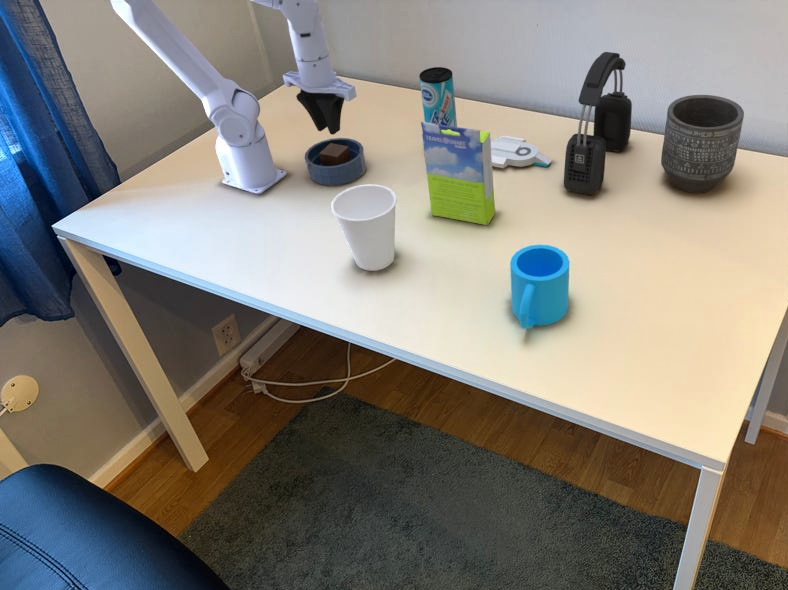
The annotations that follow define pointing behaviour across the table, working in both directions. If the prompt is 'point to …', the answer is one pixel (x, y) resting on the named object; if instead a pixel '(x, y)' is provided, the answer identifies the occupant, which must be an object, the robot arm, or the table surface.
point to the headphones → (598, 127)
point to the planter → (701, 141)
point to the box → (459, 172)
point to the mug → (539, 285)
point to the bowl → (339, 172)
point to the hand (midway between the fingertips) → (329, 130)
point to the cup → (368, 224)
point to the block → (335, 155)
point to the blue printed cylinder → (438, 96)
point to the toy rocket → (515, 153)
